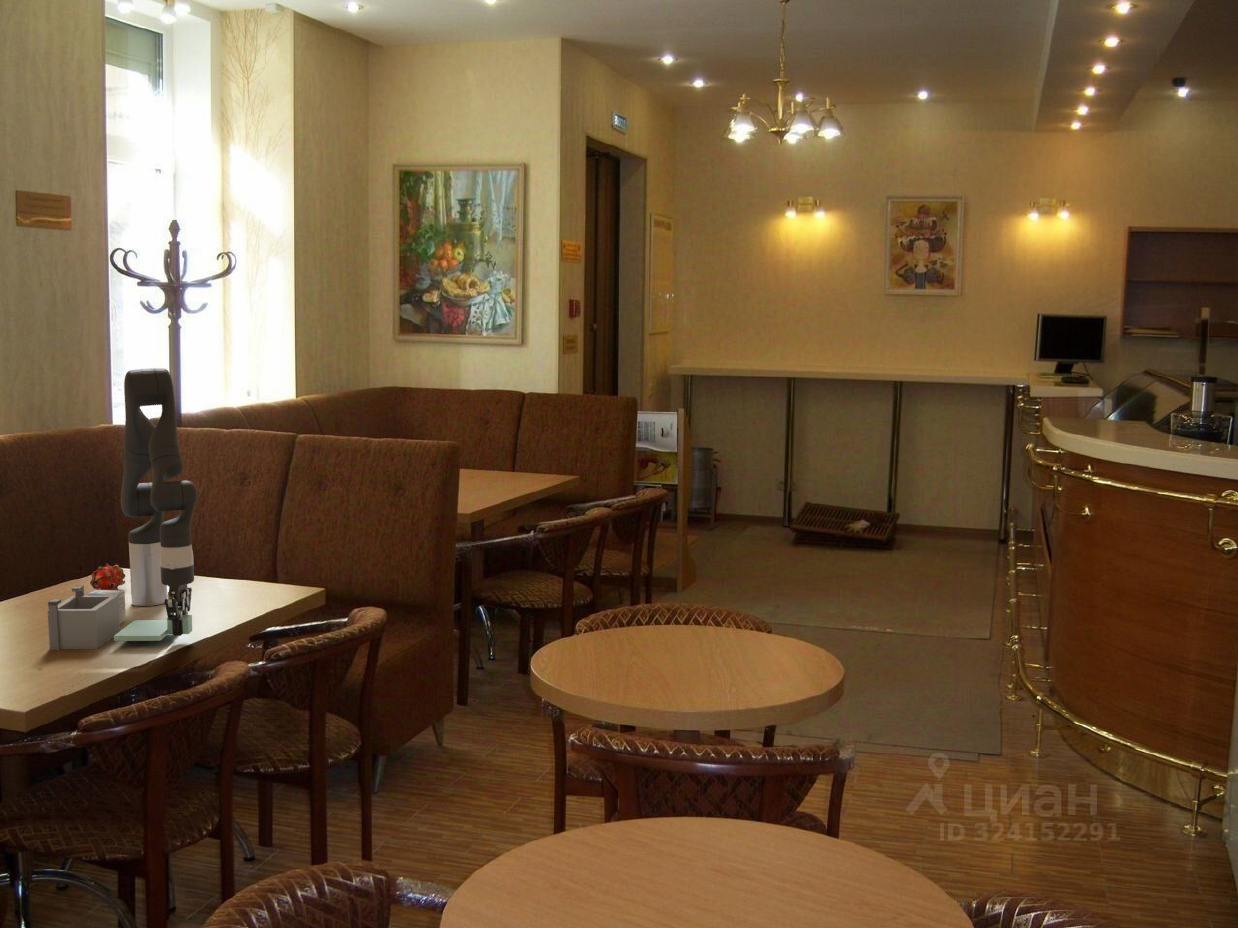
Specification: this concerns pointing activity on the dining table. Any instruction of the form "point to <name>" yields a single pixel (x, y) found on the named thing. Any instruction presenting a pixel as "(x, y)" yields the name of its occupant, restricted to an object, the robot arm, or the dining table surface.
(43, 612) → the dining table surface
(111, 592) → the medicine box
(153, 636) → the snap lid
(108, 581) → the dragon fruit
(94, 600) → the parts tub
